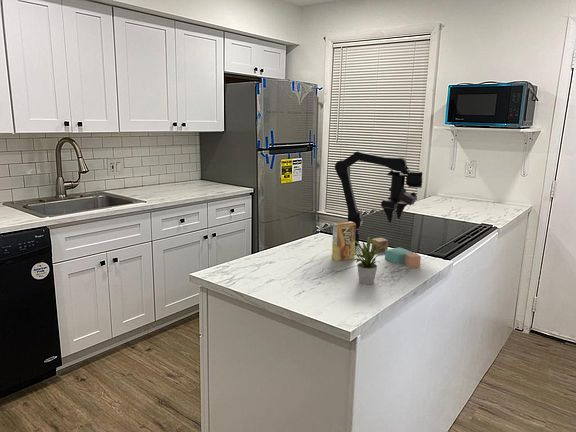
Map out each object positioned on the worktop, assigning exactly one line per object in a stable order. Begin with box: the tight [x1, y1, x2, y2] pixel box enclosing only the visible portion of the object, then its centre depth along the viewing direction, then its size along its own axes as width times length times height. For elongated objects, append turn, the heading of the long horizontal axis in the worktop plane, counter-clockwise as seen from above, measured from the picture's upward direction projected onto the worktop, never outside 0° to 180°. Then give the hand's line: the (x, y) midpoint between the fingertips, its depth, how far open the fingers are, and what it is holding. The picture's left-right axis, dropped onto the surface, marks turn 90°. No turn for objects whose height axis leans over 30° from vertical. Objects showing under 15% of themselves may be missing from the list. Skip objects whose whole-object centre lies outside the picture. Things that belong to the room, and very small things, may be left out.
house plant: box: [351, 236, 384, 285], centre depth 158 cm, size 14×14×16 cm
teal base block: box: [384, 247, 414, 265], centre depth 183 cm, size 8×8×4 cm
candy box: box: [331, 221, 356, 262], centre depth 183 cm, size 9×4×15 cm, turn 116°
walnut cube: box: [371, 237, 389, 253], centre depth 196 cm, size 5×5×5 cm
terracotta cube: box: [404, 252, 421, 268], centre depth 176 cm, size 4×4×4 cm
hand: (394, 220), depth 198 cm, fingers open, 9 cm apart
